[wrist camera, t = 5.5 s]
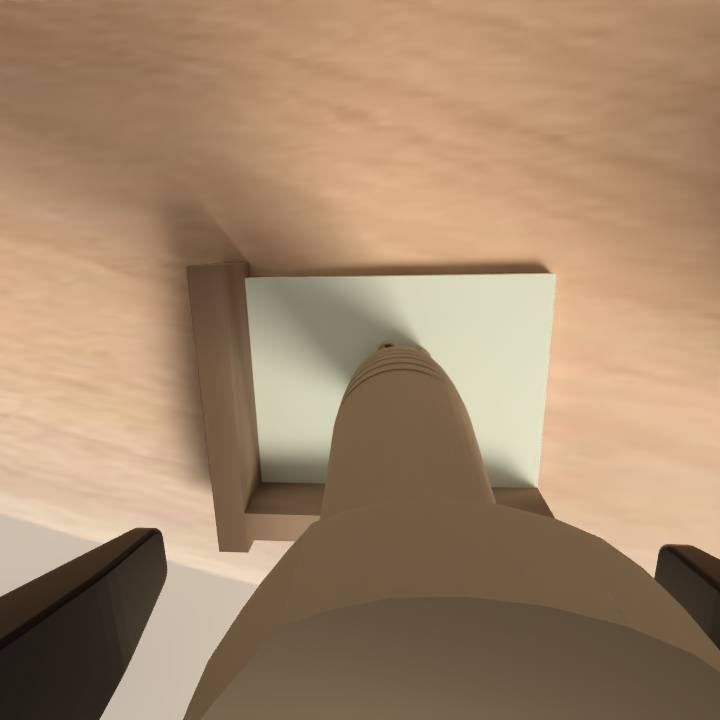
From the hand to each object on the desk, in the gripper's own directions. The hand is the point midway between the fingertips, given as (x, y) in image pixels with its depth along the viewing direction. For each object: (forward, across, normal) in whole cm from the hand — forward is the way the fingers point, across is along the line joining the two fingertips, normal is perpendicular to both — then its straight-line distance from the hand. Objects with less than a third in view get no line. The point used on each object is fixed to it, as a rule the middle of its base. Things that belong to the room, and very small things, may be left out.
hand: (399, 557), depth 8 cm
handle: (+11, 0, 0) cm, 11 cm away
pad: (+12, 0, 0) cm, 12 cm away
